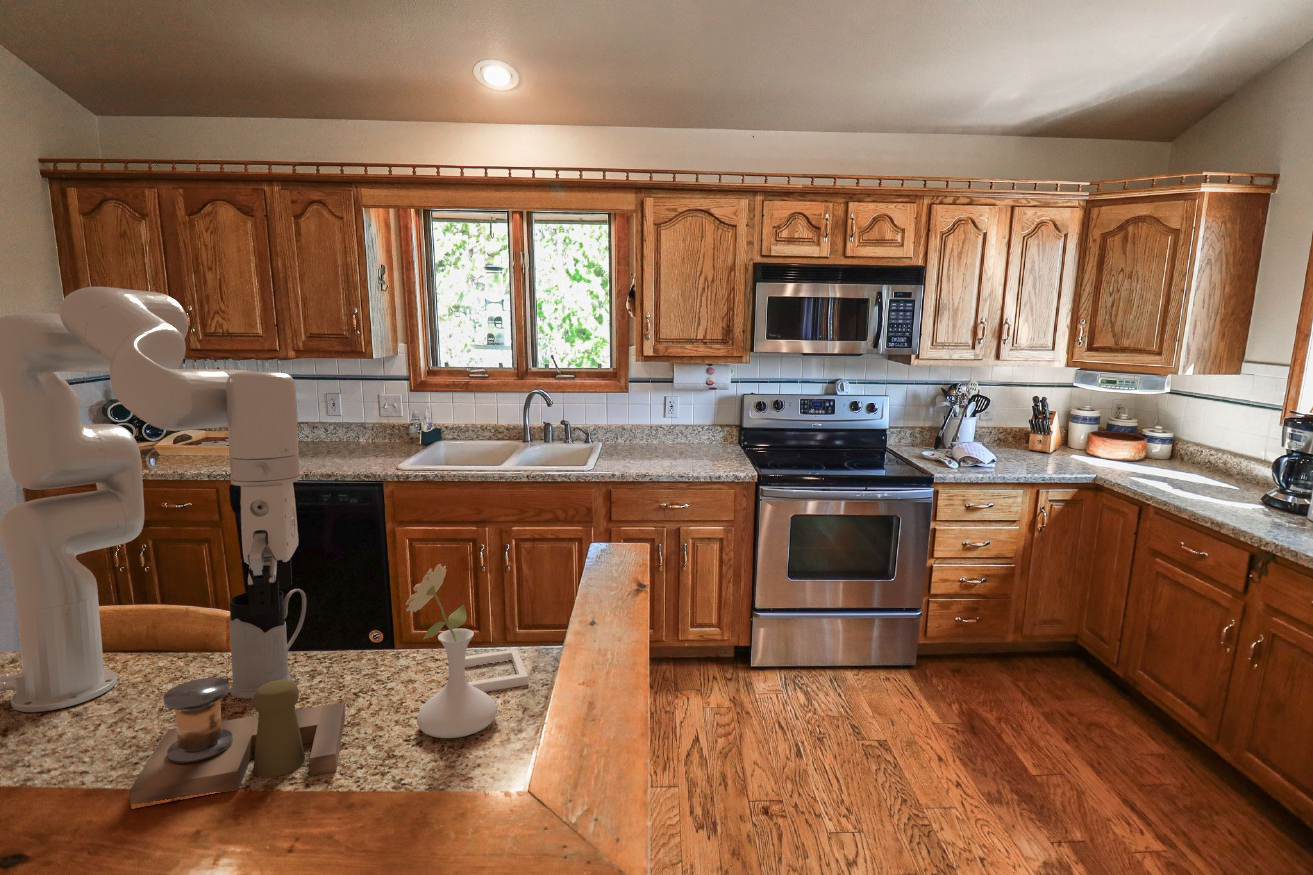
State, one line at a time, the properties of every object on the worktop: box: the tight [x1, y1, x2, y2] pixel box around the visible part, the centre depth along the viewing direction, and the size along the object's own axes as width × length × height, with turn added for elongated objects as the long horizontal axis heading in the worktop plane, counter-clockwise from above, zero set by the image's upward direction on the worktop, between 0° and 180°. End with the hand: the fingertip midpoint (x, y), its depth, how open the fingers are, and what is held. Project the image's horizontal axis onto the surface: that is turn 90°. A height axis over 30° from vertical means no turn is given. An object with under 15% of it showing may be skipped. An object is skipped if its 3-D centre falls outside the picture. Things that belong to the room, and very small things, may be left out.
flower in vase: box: [405, 563, 498, 739], centre depth 96 cm, size 13×11×25 cm
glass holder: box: [229, 588, 307, 699], centre depth 111 cm, size 9×14×15 cm, turn 164°
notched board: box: [129, 702, 346, 805], centre depth 89 cm, size 22×14×2 cm, turn 111°
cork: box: [252, 680, 306, 779], centre depth 87 cm, size 6×6×11 cm
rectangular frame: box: [465, 648, 529, 693], centre depth 113 cm, size 11×11×2 cm
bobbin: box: [163, 676, 233, 765], centre depth 86 cm, size 7×7×8 cm
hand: (272, 600), depth 86 cm, fingers open, 9 cm apart
